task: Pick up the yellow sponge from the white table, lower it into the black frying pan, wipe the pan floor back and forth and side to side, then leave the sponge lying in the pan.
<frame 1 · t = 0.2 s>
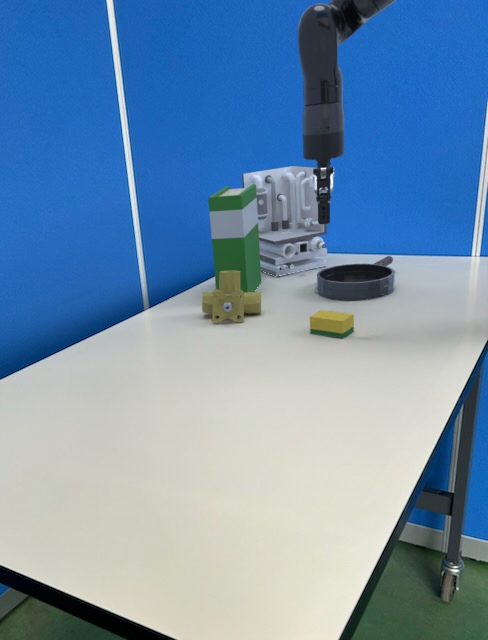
hand: (324, 219, 122), 20 cm above the table, tool pointing down, fingers open, 8 cm apart
grey pipe machine model: (287, 267, 171), on the table
ball valve: (232, 318, 135), on the table
sponge: (331, 332, 121), on the table
pan: (355, 289, 145), on the table
hardback book: (240, 293, 153), on the table
pan handle: (380, 264, 153), point 2 cm above the table
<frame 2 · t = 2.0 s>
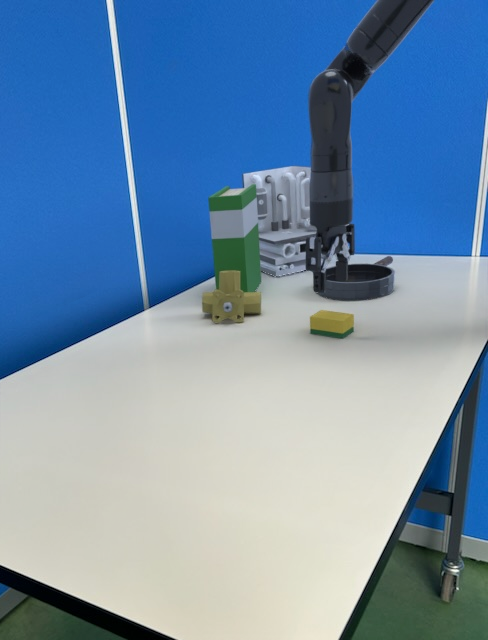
hand: (330, 286, 117), 9 cm above the table, tool pointing down, fingers open, 8 cm apart
nothing on the table moved.
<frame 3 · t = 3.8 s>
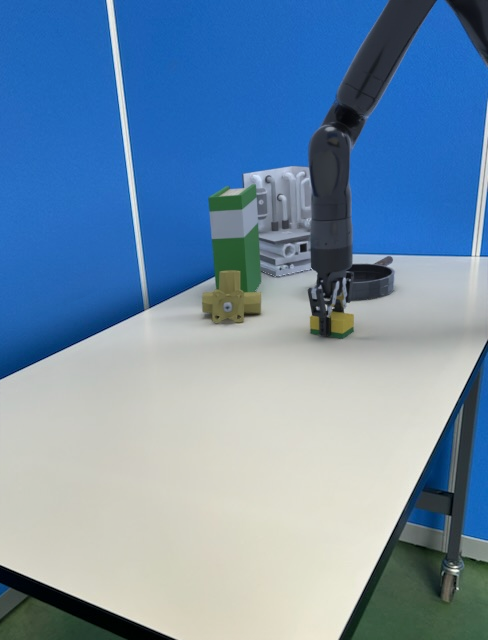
hand: (331, 330, 121), 0 cm above the table, tool pointing down, fingers closed on sponge, 4 cm apart
sponge: (331, 332, 121), on the table, touching gripper
everything else where it was.
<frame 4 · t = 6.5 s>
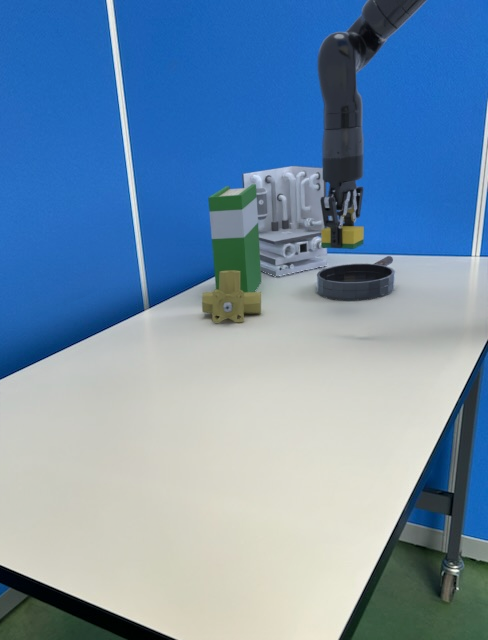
hand: (342, 244, 125), 14 cm above the table, tool pointing down, fingers closed on sponge, 4 cm apart
sponge: (342, 245, 125), point 14 cm above the table, touching gripper
everything else where it was.
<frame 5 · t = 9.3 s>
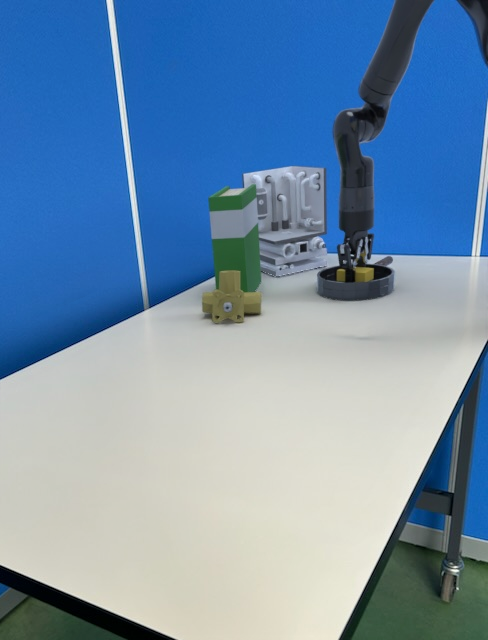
hand: (355, 282, 144), 2 cm above the table, tool pointing down, fingers closed on sponge, 4 cm apart
sponge: (354, 284, 144), point 1 cm above the table, touching gripper
everything else where it was.
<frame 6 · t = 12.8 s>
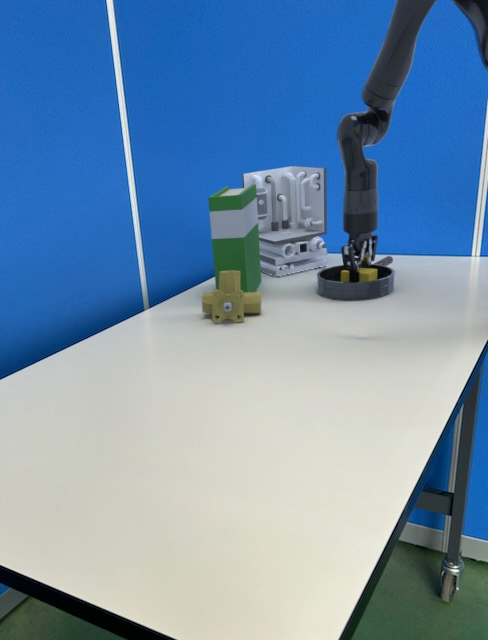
hand: (359, 283, 146), 1 cm above the table, tool pointing down, fingers closed on sponge, 4 cm apart
sponge: (358, 284, 146), point 1 cm above the table, touching gripper
everything else where it was.
when the fingers open (1 cm above the table, at t = 15.2 s): sponge stays where it is, resting on pan.
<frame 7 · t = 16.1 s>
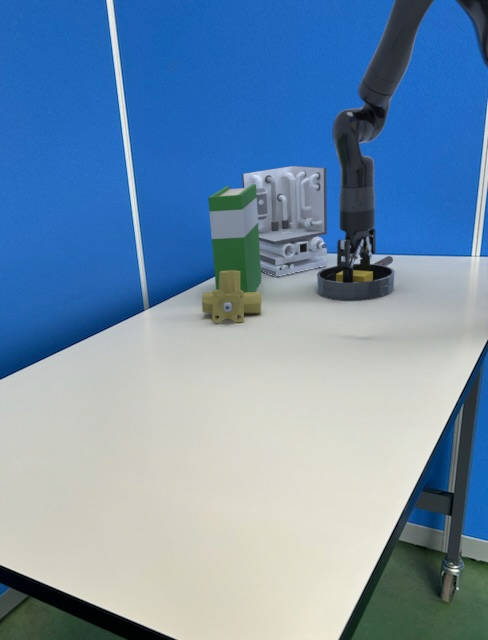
hand: (356, 279, 144), 2 cm above the table, tool pointing down, fingers open, 8 cm apart
sponge: (354, 287, 145), resting on pan
everything else where it was.
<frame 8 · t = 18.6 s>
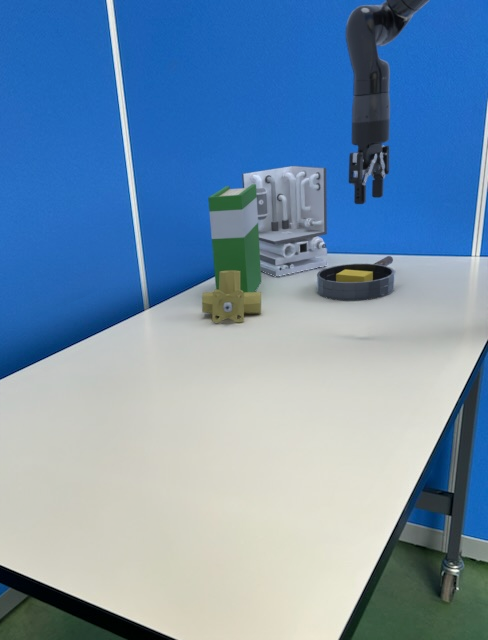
hand: (368, 200, 135), 20 cm above the table, tool pointing down, fingers open, 8 cm apart
nothing on the table moved.
at the end: sponge inside the target area in the pan (0.2 cm from its centre), point 0.5 cm above the pan's base; sponge moved 29.4 cm from its start; the gripper is holding nothing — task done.
